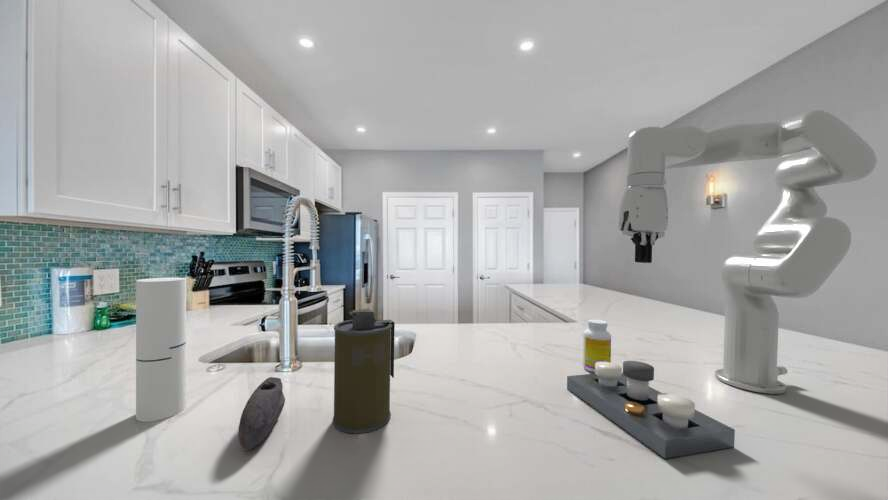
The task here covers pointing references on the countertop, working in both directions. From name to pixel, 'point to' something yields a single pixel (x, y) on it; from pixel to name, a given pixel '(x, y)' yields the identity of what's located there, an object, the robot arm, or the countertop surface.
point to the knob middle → (638, 378)
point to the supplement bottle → (596, 344)
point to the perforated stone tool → (261, 412)
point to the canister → (363, 372)
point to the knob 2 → (675, 409)
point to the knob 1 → (608, 373)
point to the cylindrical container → (160, 348)
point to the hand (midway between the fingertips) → (643, 262)
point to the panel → (651, 419)
